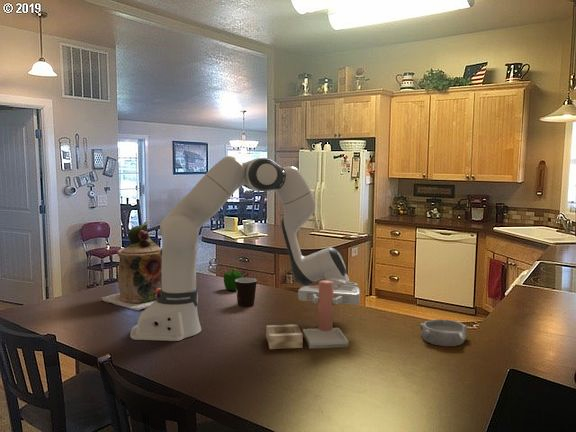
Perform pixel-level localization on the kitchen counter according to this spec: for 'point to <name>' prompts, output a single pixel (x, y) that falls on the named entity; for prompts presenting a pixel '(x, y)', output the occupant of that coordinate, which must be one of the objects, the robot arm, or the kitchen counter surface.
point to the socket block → (284, 336)
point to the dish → (443, 332)
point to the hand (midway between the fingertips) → (325, 301)
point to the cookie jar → (138, 271)
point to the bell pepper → (231, 279)
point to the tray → (325, 338)
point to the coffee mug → (245, 291)
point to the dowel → (325, 306)
